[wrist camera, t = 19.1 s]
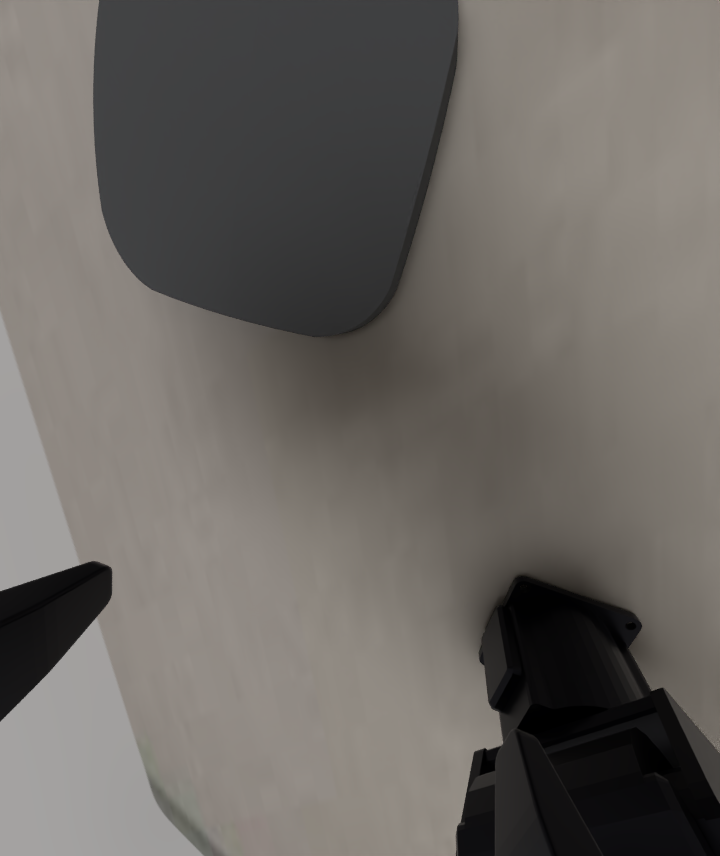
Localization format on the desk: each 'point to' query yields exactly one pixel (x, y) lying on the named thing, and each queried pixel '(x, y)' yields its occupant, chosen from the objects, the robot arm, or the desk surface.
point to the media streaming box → (270, 149)
